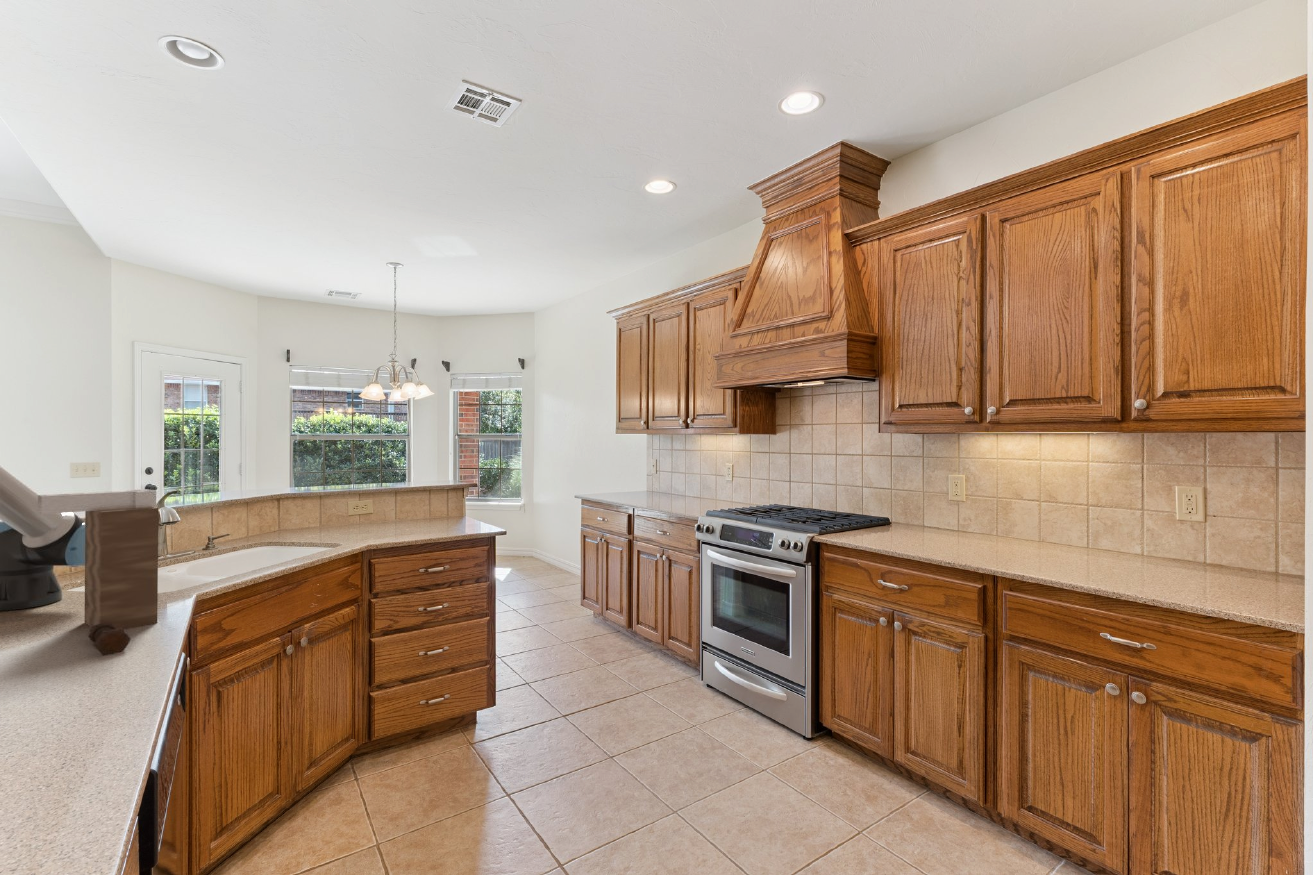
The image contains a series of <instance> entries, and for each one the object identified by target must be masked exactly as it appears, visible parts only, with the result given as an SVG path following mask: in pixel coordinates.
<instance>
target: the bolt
mask: <svg viewBox="0 0 1313 875" xmlns="http://www.w3.org/2000/svg"><path fill="white" fill-rule="evenodd" d="M87 638H89V640H90V641H91V642H92V643H93V646H94V647H95V649H96V650H97V651H98V652H99V653H100V654H101V656H109V655H108V654H110V655H115V654H119V653H123V652H124V651H125V649H126V648H127V647H128V645H129V644H130V641H131V640H132V638H131V636H129V635H128V633H127V632H126V631H125V629H122V628H117V629H116V628H115V627H114V626H113V625H112V624H111V623H110V622H109V623H102V624H97V625H95V626H93V627H91V629H90V630H89V633H88V635H87Z"/></svg>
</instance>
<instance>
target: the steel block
mask: <svg viewBox="0 0 1313 875" xmlns="http://www.w3.org/2000/svg"><path fill="white" fill-rule="evenodd" d="M147 507H156V508H157V490H154V489H148V488H146V489H143V488H142V489H128V490H113V491H111V490H110V491H93V492H77V493H76V492H75V493H74V492H73V493H71V492H70V493H56V494H55V493H54V494H38V513H40V514H52V513H67V512H73V513H77V512H85V511H95V510H110V509H124V508H147Z"/></svg>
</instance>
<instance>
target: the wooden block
mask: <svg viewBox="0 0 1313 875" xmlns="http://www.w3.org/2000/svg"><path fill="white" fill-rule="evenodd" d="M84 512H85V513H84V514H85V516H84V518H85V520H84V521H85V566H84V621H83V622H85V623H84V624H86V625H87V624H88V625H87V626H89V627H90V628H92V627H93V626H95V625H97V624H102V623H109V622H110V623H111V624H112V625H113V626H114V627H115V628H116V629H117V628H122V629H123V630H126V629H131V628H137V627H143V626H146V625H153V624H157V623H158V608H159V607H158V601H159V600H158V596H159V595H158V594H159V592H158V591H159V589H158V587H159V586H158V585H159V584H158V583H159V580H158V579H159V576H158V575H159V573H158V572H159V507H157V506H156V507H147V508H124V509H110V510H95V511H84Z"/></svg>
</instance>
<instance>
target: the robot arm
mask: <svg viewBox="0 0 1313 875" xmlns="http://www.w3.org/2000/svg"><path fill="white" fill-rule="evenodd" d="M38 495H39V494H37V493H36V492H35V491H34V490H32V488H30V487H28V486H27V485H26V484H24V483H23V482H22V481H21V480H19V479H18V478H16V477H15V476H14V475H12V473H10V472H9V471H7V469H5V468H4V467H2V466H1V465H0V612H2V611H12V610H13V611H14V610H21V609H28V608H35V607H40V606H41V607H42V606H45V605H49V604H53V603H56V602H59V601H60V600H62V599H63V590H62V587H61V585H60V582H59V581H58V578H57V576H56V574H55V571H54V568H55V567H56V566H57V567H72V568H77V567H85V520H84V519H83V518H81V517H79V516H78V515H77V514H75V512H67V513H52V514H40V513H38ZM54 566H55V567H54Z"/></svg>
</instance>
